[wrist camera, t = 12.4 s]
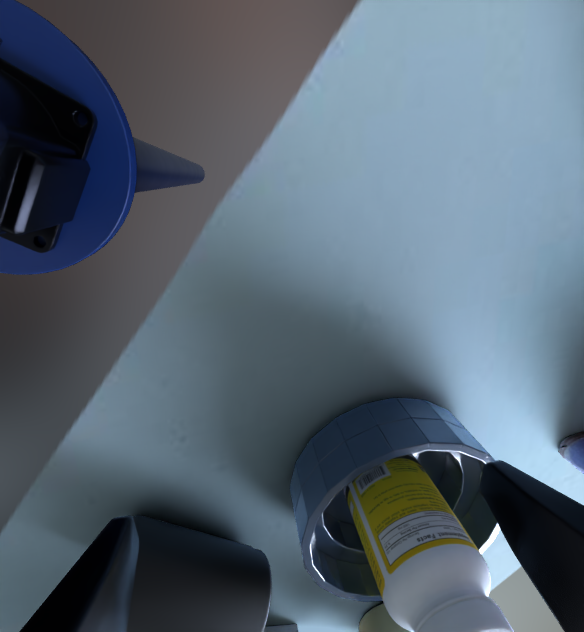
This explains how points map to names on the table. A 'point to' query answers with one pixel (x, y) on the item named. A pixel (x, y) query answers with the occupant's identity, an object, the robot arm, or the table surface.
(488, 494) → the robot arm
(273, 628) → the notched white pillar
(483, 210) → the table surface
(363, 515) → the pill bottle
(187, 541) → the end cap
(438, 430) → the bowl
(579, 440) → the flask
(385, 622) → the squeeze bottle
